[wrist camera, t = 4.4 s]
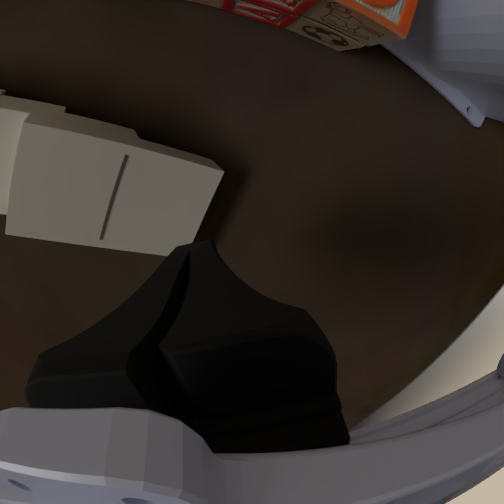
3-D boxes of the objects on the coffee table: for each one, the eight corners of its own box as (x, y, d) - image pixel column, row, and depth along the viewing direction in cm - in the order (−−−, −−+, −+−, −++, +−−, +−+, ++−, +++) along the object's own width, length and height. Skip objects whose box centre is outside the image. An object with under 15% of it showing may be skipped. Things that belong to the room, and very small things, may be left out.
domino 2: (224, 171, 14) (23, 122, 9) (185, 258, 16) (5, 234, 11) (211, 159, 15) (29, 113, 10) (176, 240, 17) (10, 215, 12)
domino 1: (139, 138, 13) (-45, 101, 7) (109, 230, 15) (-56, 205, 9) (134, 129, 14) (-33, 95, 8) (105, 214, 16) (-47, 190, 10)
